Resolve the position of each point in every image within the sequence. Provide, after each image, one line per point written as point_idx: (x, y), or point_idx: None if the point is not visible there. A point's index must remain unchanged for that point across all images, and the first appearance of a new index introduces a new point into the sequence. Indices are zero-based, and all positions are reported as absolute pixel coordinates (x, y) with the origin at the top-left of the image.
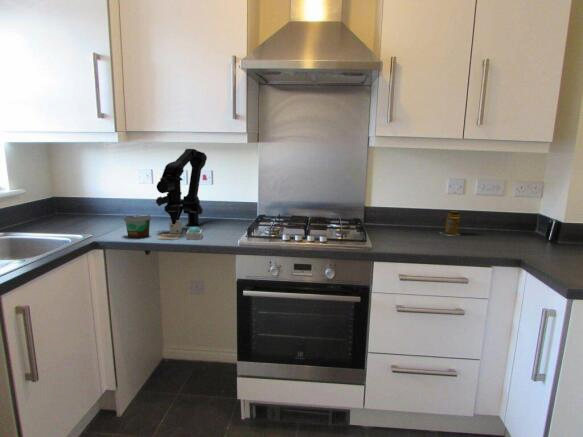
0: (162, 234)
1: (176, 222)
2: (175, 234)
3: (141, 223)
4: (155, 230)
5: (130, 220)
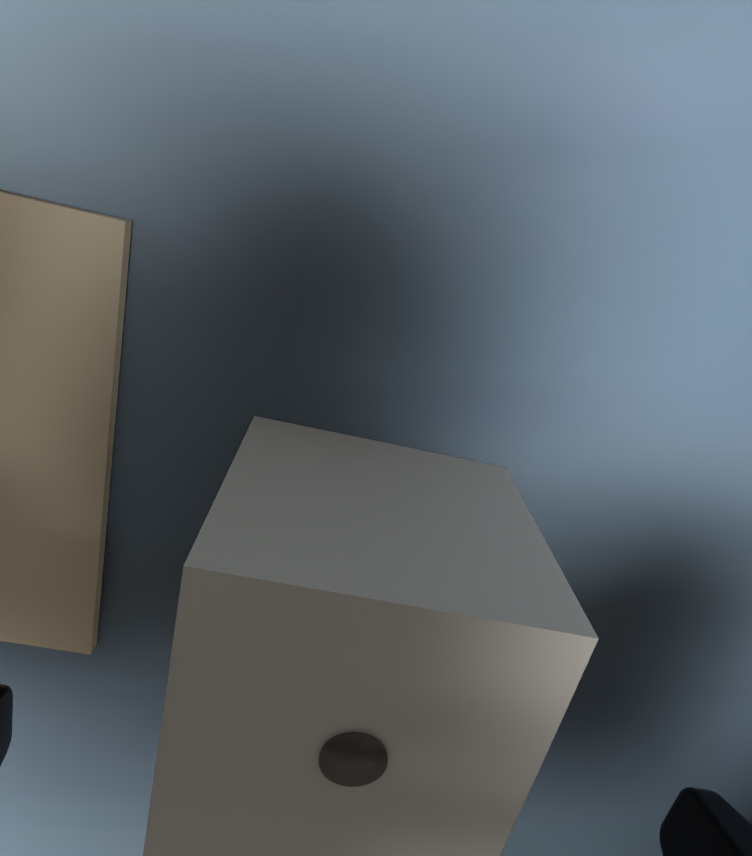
0: (50, 232)
1: (317, 779)
2: (35, 544)
3: None
4: (716, 9)
5: None
